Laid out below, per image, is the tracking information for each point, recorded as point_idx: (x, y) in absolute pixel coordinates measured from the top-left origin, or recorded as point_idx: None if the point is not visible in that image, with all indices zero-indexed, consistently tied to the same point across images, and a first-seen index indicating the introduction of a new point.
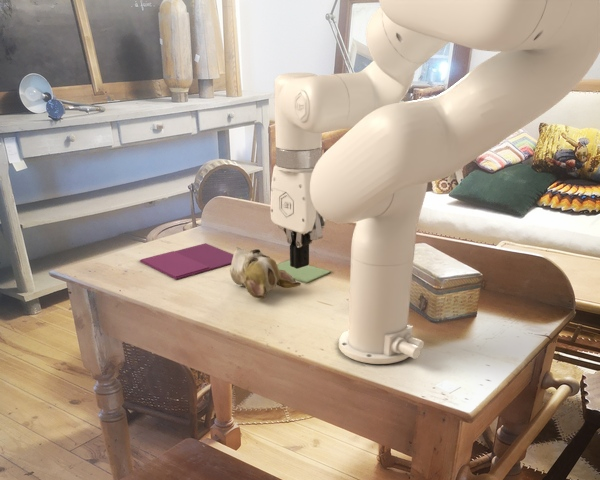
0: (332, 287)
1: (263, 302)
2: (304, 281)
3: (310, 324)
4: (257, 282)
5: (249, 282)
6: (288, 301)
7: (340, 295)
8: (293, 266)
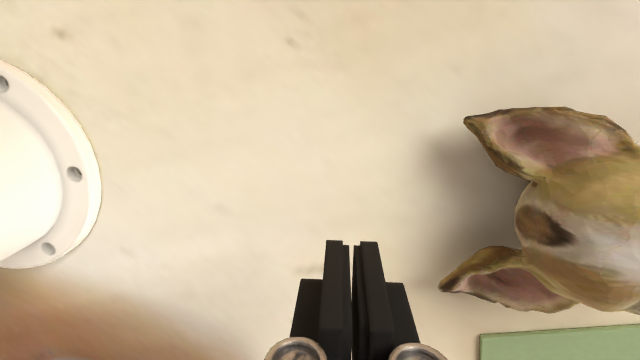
0: None
1: None
2: (491, 336)
3: (232, 135)
4: (564, 165)
5: (595, 138)
6: (421, 205)
7: None
8: (354, 245)
